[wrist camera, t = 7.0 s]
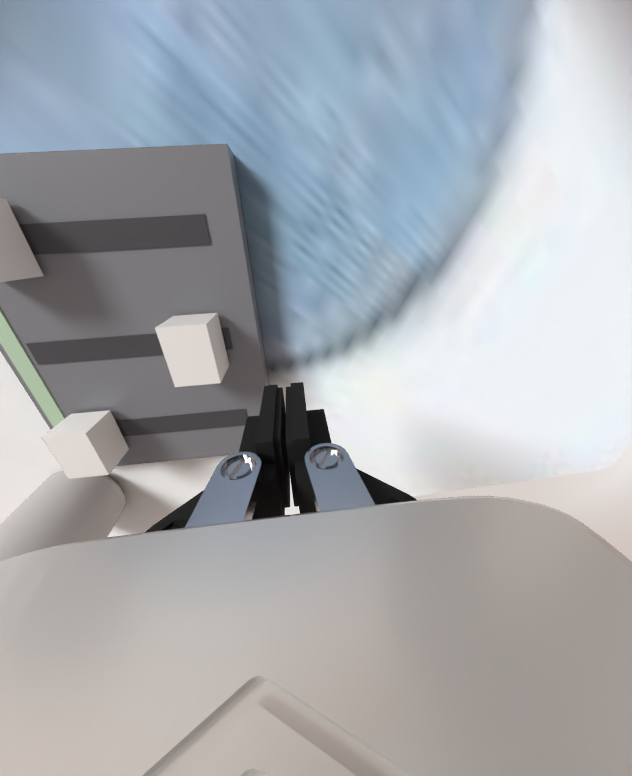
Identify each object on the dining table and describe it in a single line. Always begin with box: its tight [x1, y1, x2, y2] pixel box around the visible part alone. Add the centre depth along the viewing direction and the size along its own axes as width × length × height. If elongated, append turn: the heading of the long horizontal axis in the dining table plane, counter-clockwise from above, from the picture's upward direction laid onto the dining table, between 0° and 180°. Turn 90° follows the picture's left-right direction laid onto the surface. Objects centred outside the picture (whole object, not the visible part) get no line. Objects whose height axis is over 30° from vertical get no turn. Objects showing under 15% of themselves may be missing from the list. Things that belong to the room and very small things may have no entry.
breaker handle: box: [155, 313, 229, 387], centre depth 19 cm, size 3×4×3 cm
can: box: [0, 471, 126, 561], centre depth 23 cm, size 8×8×12 cm
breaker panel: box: [0, 144, 269, 479], centre depth 19 cm, size 18×22×5 cm
